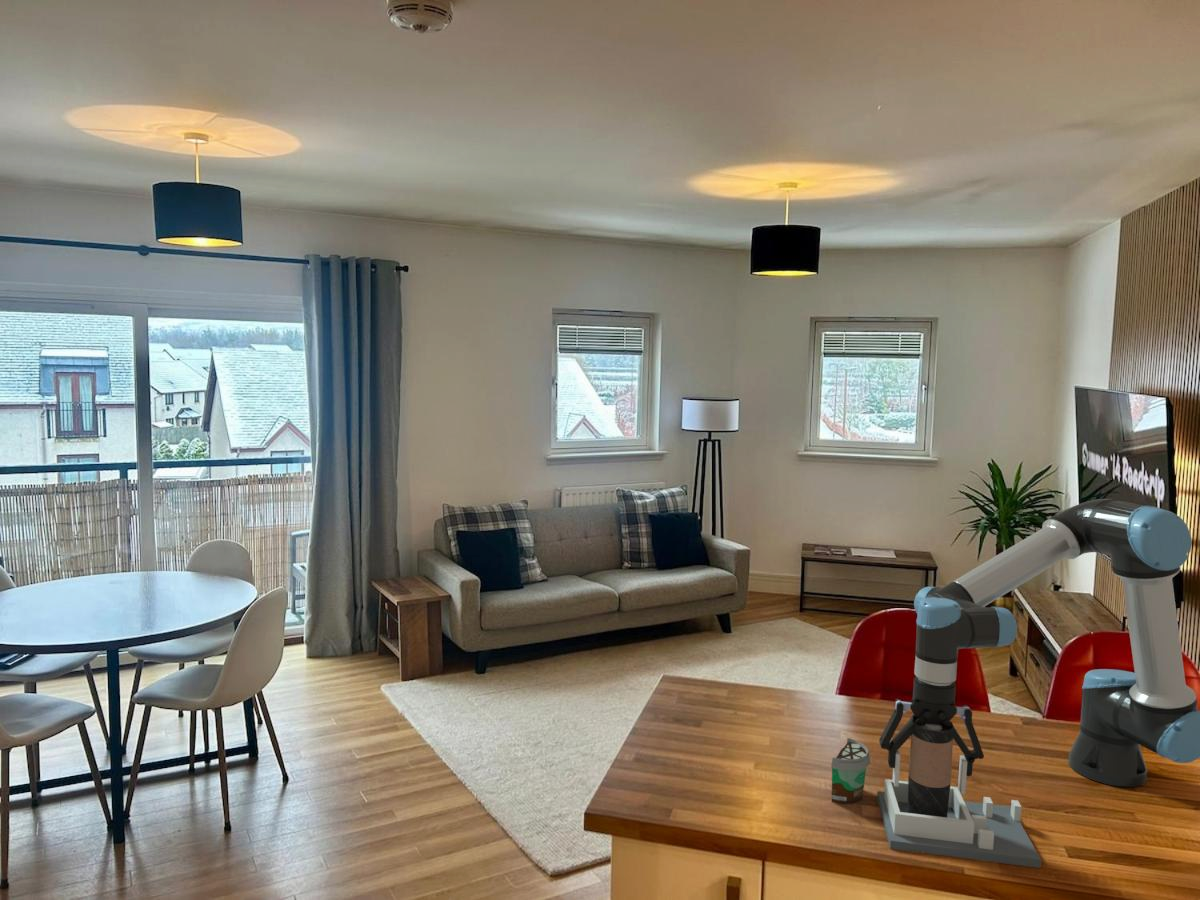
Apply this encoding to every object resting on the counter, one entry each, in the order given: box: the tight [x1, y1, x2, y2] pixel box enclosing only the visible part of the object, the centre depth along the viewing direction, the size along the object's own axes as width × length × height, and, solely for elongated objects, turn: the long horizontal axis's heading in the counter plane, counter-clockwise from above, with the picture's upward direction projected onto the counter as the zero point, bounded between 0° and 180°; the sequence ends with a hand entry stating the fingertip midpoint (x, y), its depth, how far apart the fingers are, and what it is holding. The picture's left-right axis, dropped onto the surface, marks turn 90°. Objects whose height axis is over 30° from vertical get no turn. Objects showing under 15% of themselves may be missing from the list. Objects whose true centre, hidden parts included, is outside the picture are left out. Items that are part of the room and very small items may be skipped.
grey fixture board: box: [876, 790, 1042, 869], centre depth 161 cm, size 26×19×2 cm
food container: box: [830, 737, 871, 805], centre depth 173 cm, size 12×6×10 cm, turn 148°
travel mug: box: [907, 718, 955, 818], centre depth 161 cm, size 8×8×20 cm
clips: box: [972, 796, 1023, 850], centre depth 159 cm, size 10×14×3 cm
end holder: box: [883, 778, 974, 844], centre depth 162 cm, size 14×14×4 cm
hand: (928, 786), depth 162 cm, fingers open, 11 cm apart
